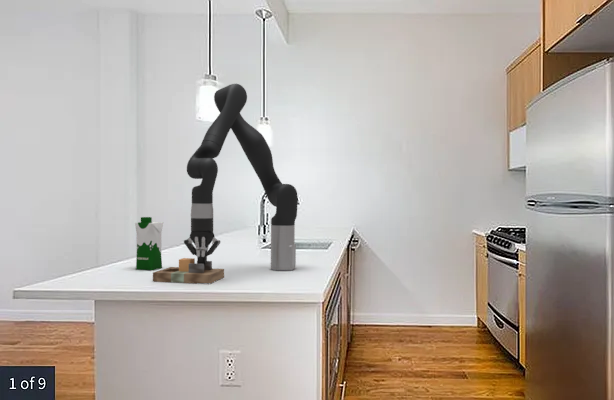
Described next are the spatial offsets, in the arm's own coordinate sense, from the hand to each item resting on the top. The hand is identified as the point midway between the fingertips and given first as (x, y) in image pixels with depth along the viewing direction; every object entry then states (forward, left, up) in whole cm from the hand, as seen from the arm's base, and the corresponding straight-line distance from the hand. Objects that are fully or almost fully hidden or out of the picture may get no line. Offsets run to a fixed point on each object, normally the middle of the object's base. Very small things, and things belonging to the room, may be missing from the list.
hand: (202, 267), depth 190 cm
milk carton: (+30, -20, -5) cm, 36 cm away
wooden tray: (+5, 0, -4) cm, 6 cm away
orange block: (+6, 0, -1) cm, 6 cm away
